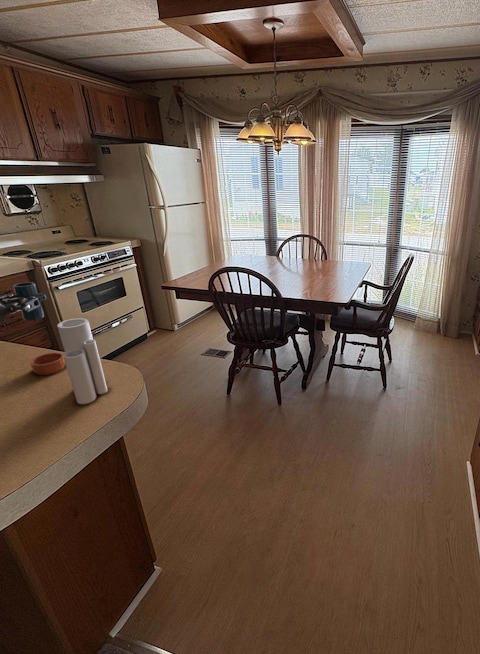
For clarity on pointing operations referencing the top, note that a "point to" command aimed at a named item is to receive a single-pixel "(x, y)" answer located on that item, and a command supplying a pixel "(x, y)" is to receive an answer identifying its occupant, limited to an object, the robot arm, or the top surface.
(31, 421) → the top surface
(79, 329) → the vase
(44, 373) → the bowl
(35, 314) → the cup
